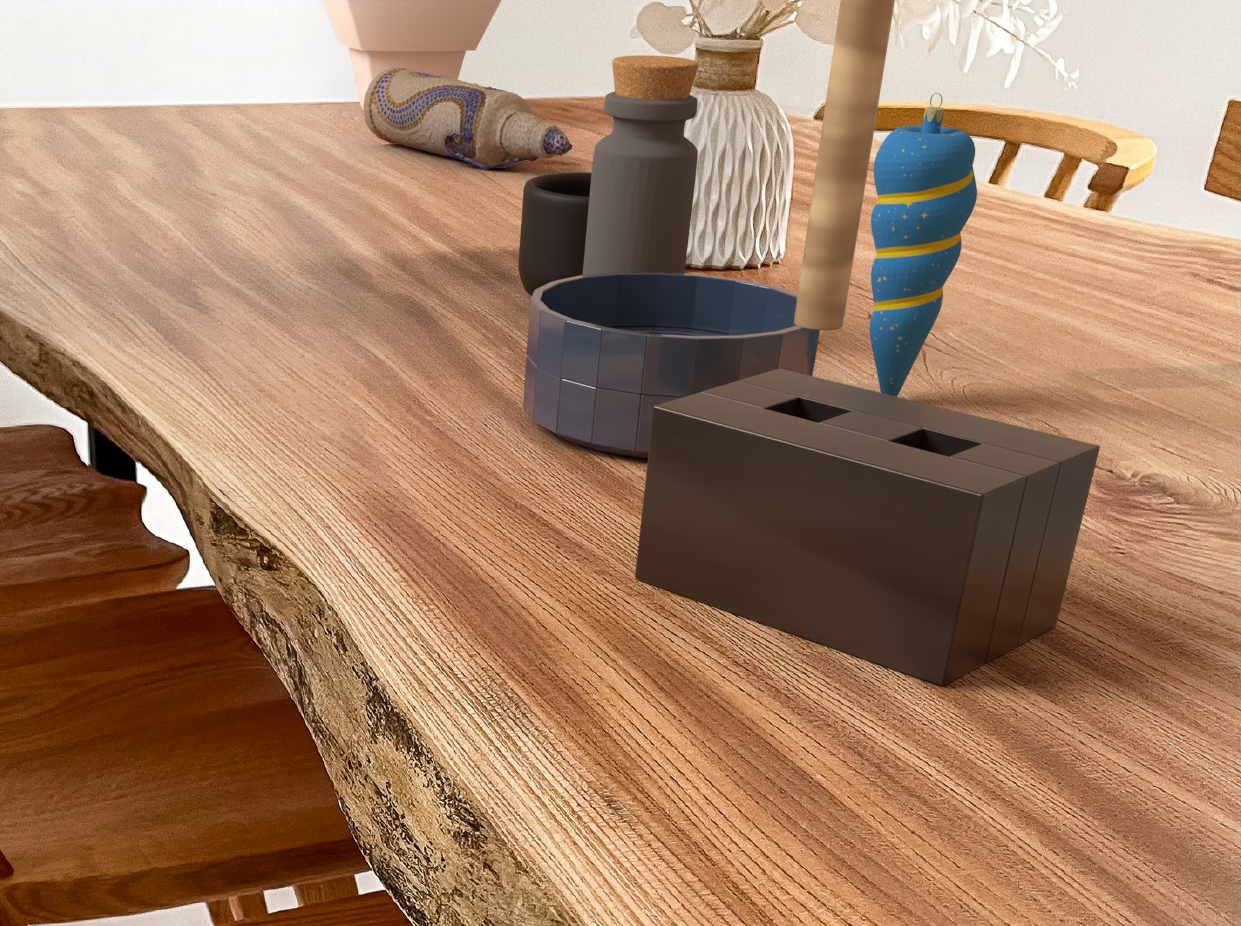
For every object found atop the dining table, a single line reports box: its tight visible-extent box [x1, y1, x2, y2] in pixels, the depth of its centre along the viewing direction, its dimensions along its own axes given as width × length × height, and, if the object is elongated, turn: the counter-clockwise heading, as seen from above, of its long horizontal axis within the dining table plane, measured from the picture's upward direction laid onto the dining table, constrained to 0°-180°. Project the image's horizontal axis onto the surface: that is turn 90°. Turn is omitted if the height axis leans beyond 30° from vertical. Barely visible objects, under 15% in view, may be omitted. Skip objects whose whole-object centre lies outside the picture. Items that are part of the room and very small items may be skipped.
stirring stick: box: [794, 0, 896, 331], centre depth 60 cm, size 2×2×19 cm
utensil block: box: [634, 369, 1101, 687], centre depth 67 cm, size 8×14×7 cm, turn 44°
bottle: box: [583, 54, 700, 275], centre depth 100 cm, size 6×6×15 cm
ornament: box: [869, 92, 978, 397], centre depth 89 cm, size 5×5×15 cm
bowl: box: [321, 0, 502, 112], centre depth 177 cm, size 19×19×14 cm
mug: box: [517, 172, 592, 297], centre depth 108 cm, size 12×9×7 cm
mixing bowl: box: [522, 272, 821, 459], centre depth 87 cm, size 14×14×6 cm
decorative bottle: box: [363, 68, 573, 170], centre depth 156 cm, size 26×8×7 cm, turn 33°
